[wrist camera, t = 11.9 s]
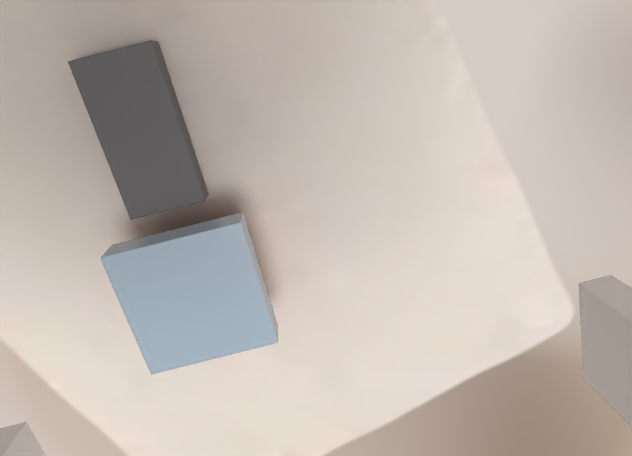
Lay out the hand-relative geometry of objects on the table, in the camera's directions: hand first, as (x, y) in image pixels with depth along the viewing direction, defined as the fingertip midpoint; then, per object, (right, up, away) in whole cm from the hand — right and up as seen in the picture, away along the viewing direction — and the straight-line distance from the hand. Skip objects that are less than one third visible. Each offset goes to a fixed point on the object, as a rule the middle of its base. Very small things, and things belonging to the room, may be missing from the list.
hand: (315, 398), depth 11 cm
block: (-13, +12, +25) cm, 31 cm away
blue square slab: (-9, -1, +25) cm, 27 cm away
